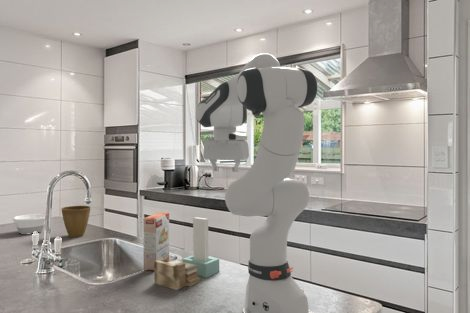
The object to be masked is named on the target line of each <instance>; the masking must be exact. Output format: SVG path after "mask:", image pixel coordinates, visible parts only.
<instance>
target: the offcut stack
mask: <svg viewBox="0 0 470 313" xmlns="http://www.w3.org/2000/svg"><path fill="white" fill-rule="evenodd" d="M167 263H171V264H175V265H177V264H180V263H185V262H183V261H180V260H176V259H175V260H172V261H168V262H167ZM196 271H197V265H193V264H189V263H185V276H186V286H187V287H192V286H194V285H196V284H198V283H200V276H198V275H197V274H196Z"/></svg>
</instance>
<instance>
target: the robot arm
mask: <svg viewBox="0 0 470 313" xmlns="http://www.w3.org/2000/svg"><path fill="white" fill-rule="evenodd" d="M317 94H318V81H317V78H316V76H315V75H314V73H313V72H312V71H311V70H307V69H304V68H300V67H281V64H280V62H279V60H278V59H277V58H276V57H275V56H274V55H272V54H270V53H259V54H257V55H254V56H253V57H252V58H251V59H249V61H247V63H246V64H245V65H244V66H243V68H242V69H241V71H240V72H238V73H237V74H236V75H235V76H233V77H232V78H230V79H228V80H225V81H224V82H222V83H221V84H219V85H218V86H217V87H216V88H215V89H214V90H213V91H212V92H211V93H210V94H209V95H208V96H207V97H206V98H203V99H202V100H200V102H198V104H197V107H196V111H195V114H196V116H195V118H196V120H197V123H199V124H200V125H201V126H202V127H203V128H211V127H213V136H207V138H205V139H204V145H203V153H202V154H203V155H202V156H203V159H204V160H207V161H208V160H209V161H210V164H211V166H212V168H213V170H212V171H213V172H219V170H220V169H219V167H220V166H218V165H217V163H218V161H221V160H222V161H234V163H235V164H234V166H232V167H231V169H232V173H238V172H239V167H240V165H241V161H247V160H248V159H249V156H250V153H249V151H250V150H249V143H248V141H247V140H248V135H247V134H245V133H241V132H240V131H237V127H240V126H242V125H244V124H245V122H246V121H247V119H248V111H251V114H252V115H253V116H255V117H258V116H261V114H262V116H263V126H262V132H261V136H260V140H259V145H258V149H257V154H256V157H255V159H254V162H253V164H252V165H251V167H250V168H249V169H248V170H247V171H246V173H244V174H243V175H242V176H241V177H240V178H237V180H235V181H232V182H231V183H230V184H229V185H228V187H227V189H226V191H225V195H224V198H225V199H224V200H225V201H224V202H225V205H226V207H227V209H228V211H229V212H230V213H231V214H233V215H236V216H243V217H261V216H262V217H264V216H265V217H266V216H267V217H266V220H265V222H264V223H263V224H262V225H261V226H258V227H257V228H255V229H254V230H253V231H252V232H251V234H250V237H249V260H248V264H247V267H248V268H247V269H248V274H249V276H248V277H249V278H248V281H247V284H246V290H245V298H244V299H245V301H244V307H243V309H242V311H241V313H315V312H314V311H312V309H310V308H309V300H308V297H307V295H306V293H305V291H304V289H303V288H301V286H299V285H298V283H297V282H296V281H295V279H294V278H293V277H292V272H293V269H294V267H290V265H289V262H288V260H287V252H288V251H287V249H288V248H287V247H288V237H289V232H290V231H291V227H292V225H293V223H294V221H295V219H296V218H297V217H298V216H299V215H300V214H301V213H302V212H304V211H305V209H306V208H307V207H308V205H309V201H310V192H309V188H308V186H307V185H306V184H305V182H304V181H302V180H299V179H295V178H289V177H290V176H292V174H293V172H295V170H296V165H297V162H298V159H299V155H300V152H301V147H302V145H303V144H302V143H303V139H304V132H305V116H304V113H303V111H302V110H300V109H301V108H303V107H307V106H310V105H312V103H313V102H314V101H315V99H316V97H317Z"/></svg>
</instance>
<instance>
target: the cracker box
mask: <svg viewBox="0 0 470 313" xmlns="http://www.w3.org/2000/svg"><path fill="white" fill-rule="evenodd" d="M162 258H165V259H166V262H167V263H168V262H170V213H169V212H156V213H153V214H151V215H149V216H146V217H144V218H143V270H144V271H145V270H146V271H154V261H156V260H159V259H162Z"/></svg>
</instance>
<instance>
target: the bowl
mask: <svg viewBox="0 0 470 313" xmlns="http://www.w3.org/2000/svg"><path fill="white" fill-rule="evenodd" d="M45 214H46V213H30V214H22V215H16V216H14V217H13V220H12V221H13V222H14V224H15V227H16V229H17V231H18V234H19V233H21V234H27V233H33V232H34V231H37V232H42V231H44V230H45V226H44V224H45ZM45 225H46V224H45ZM42 233H43V232H42ZM21 234H20V235H21Z"/></svg>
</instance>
